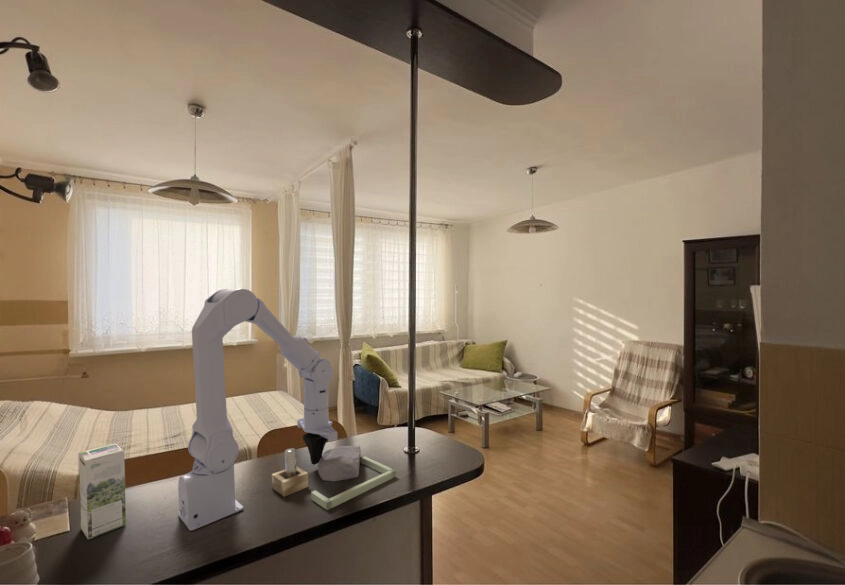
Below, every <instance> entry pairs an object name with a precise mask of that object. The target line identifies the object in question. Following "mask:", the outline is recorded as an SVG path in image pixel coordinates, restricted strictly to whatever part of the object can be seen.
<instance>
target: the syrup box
mask: <svg viewBox="0 0 845 585" xmlns="http://www.w3.org/2000/svg"><path fill="white" fill-rule="evenodd" d="M77 455H78V456H77V457H78V458H77V459H78V483H79V485H78V487H79V514H80V515H79V517H80V518H79V521H80V530H82V532H83V534H84V536H85V537H86V538H87V540H88V541H89V540H91V539H94V538H97V537H100V536H102V535H104V534H105V535H106V534H107V533H109V532H110V533H111V531H114V530H117V529H120V528H121V527H124V526H126V525H127V513H126V512H127V510H126V509H127V508H126V505H127V504H126V475H125V474H126V472H125V471H126V470H125V469H126V467H125V465H126V461H125V451H124V450H123V448H121V447H120V446H119V445H118V444H117V443H112V444H107V445H103V446H100V447H95V448H91V449H89V450H85V451H81V452H79V453H78V454H77Z"/></svg>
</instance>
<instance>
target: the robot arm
mask: <svg viewBox="0 0 845 585" xmlns="http://www.w3.org/2000/svg"><path fill="white" fill-rule="evenodd" d="M244 322H246V323H252V324H254V325H255V326H257V327H258V328H259V329H260V330H262V331H263V332H264V333H265V334H266V335H267V336H268V337H270V338H271V339H272V340H273V341H274V342H275V343H277V345H279V346H280V354H281V355H282V356H283V358H284V359H286V360H287V361H288V362H289V363H290V364H291V365H292V366H293V367H294V368H295V369H297V371H298V375H299V376H300V377H301V378H303V417H302V418H298V419H296V420H297V428H299V429H302V430H303V431H304V432H305V434H303V435H302V439H303V441H304V443H305V445H306V448H307V450H308V454H309V458H310V463H311V465H313V466H315V465H318V464H319V461H320V459H321V457H322V456H323V453H324V448H325V446H326V444H327V442H328V443H332V442H335V441H337V440H338V431H336V430H335V429H334V428H333V427H332V426H333V421H332V420H330V419H329V415H330V414H329V409H330V408H329V407H330V406H329V387H330V381H331V379H332V378H333V374H334V368H332V364H331V362H330V361H329V360H328V359H326V358H321V356H320V354H321V352H320V351H318V350H315V349H314V348H313V347H312V346H311V345H310V344H309V343H308V341H309V339H308V338H307V337H306V336H301V335H297V334H296V335H292V334H291V333H290V332H289V331H288V329H287V328H286V326H284V324H282V322H280V321H279V319H278V318H277V317H276V316H275V315H274V314H273V313H272V311H270V310H269V308H268V306H267V305H266V304H265V302H264V301H263V300H261V299H260V298H259V297H257V296H256V294H255V293H254V292H253V291H251V290H250V289H246V288H237V289H228V288H227V289H226V288H225V289H224V288H223V289H219V290H217V291H215V292H214V293H213V294H211V295H210V296H208V298H206V299H205V300H204V305H203V307H202V309H201V311H200V313H199V315H198V317H197V318H196V320H195V322H194V324H193V326H192V329H191V339H192V340H191V343H192V359H193V374H194V376H193V378H194V392H195V406H196V407H195V408H196V409H195V410H196V412H195V413H196V420H195V421H194V423H193V424H192V429H191V430H192V433H191V437H190V438H189V441H188V445H187V448H188V453H189V455H191V457H193V458H194V461H193V464H192V470H191V471H189V472H187V473H186V474H183V475H181V476H180V477H179V478H178V484H177V486H178V487H177V489H178V493H177V494H178V512H177V513H178V516H179V518H180V519H181V521H182V522H183V524H184V525H185V526H186V528H187V529H188V531H195V530H197V529H199V528H202V527H204V526H207V525H209V524H211V523H214V522H216V521H219V520H221V519H224V518H227V517H228V516H230V515H233V514H236V513H238V512H240V511H243V510H244V506H243V505H242V504H241V503H240V502H239V501H238V500H237V499H236V487H235V486H236V485H235V484H236V482H235V462H236V460H237V458H238V456H239V451H240V449H239V448H240V447H239V444H238V442H237V440H236V439H235V437H234V433H233V431H234V430H233V427H232V425H231V423H230V420H229V419H228V412H227V411H228V410H227V395H226V393H227V392H226V377H225V360H224V359H225V357H224V356H225V355H224V343H223V339H224V337H225V336H226V335H227V334H228V333H229V332H230V331H232V330H233V328H234V327H236V326H237V325H240V324H242V323H244Z"/></svg>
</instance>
